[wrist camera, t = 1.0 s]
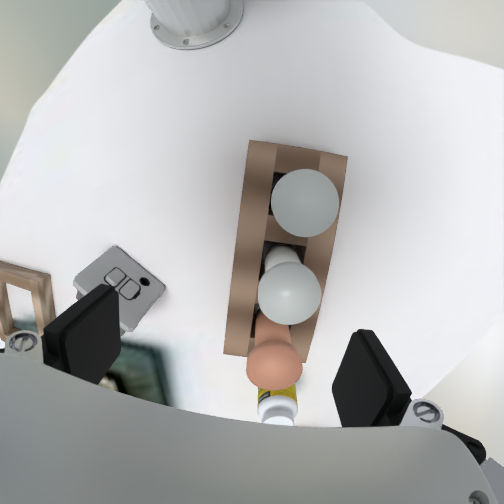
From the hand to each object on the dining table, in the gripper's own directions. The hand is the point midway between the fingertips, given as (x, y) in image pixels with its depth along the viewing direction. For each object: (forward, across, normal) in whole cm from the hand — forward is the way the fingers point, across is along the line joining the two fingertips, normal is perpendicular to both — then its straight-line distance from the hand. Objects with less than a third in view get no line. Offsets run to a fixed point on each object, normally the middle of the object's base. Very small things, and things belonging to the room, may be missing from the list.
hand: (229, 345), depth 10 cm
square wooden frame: (+25, +38, +21) cm, 51 cm away
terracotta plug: (+21, -4, +9) cm, 23 cm away
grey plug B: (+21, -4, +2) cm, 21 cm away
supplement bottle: (+25, -8, +22) cm, 35 cm away
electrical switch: (+26, +15, +10) cm, 31 cm away
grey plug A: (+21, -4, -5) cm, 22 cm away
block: (+25, -4, +2) cm, 26 cm away
